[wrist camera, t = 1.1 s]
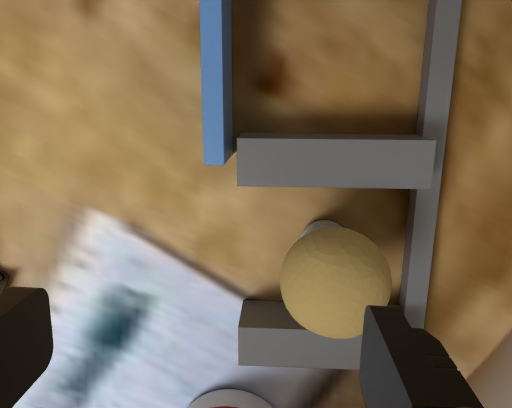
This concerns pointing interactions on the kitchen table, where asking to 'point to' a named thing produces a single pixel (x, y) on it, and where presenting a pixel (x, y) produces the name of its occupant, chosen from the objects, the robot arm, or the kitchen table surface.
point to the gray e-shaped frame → (334, 180)
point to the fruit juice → (229, 400)
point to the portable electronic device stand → (3, 280)
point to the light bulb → (334, 279)
